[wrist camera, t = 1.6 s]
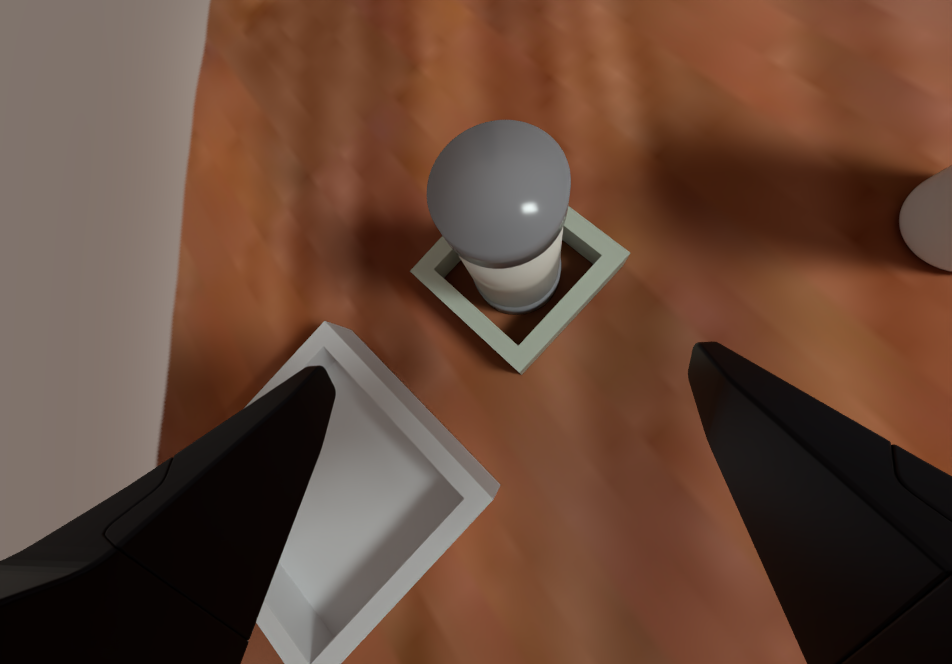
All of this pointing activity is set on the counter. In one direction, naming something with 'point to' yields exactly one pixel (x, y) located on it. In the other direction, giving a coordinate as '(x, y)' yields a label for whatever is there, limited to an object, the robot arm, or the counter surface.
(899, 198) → the counter surface
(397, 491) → the parts tray
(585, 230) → the holder ring
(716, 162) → the counter surface
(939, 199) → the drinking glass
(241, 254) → the counter surface
